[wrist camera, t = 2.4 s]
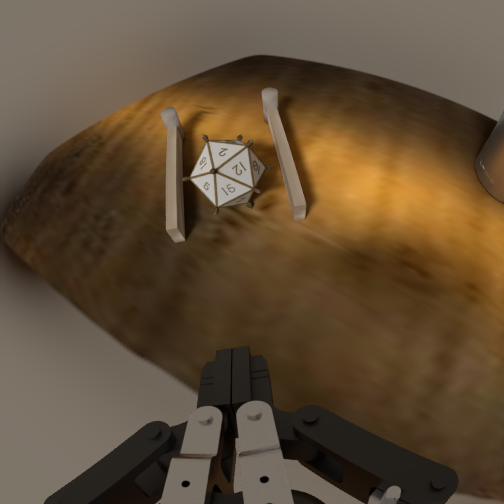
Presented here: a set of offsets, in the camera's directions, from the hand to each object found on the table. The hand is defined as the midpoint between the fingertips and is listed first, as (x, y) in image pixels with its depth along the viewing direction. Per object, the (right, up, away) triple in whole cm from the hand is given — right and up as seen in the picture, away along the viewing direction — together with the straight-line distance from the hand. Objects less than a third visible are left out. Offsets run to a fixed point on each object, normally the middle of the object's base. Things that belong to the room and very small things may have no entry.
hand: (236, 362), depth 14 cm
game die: (-1, +12, +22) cm, 25 cm away
